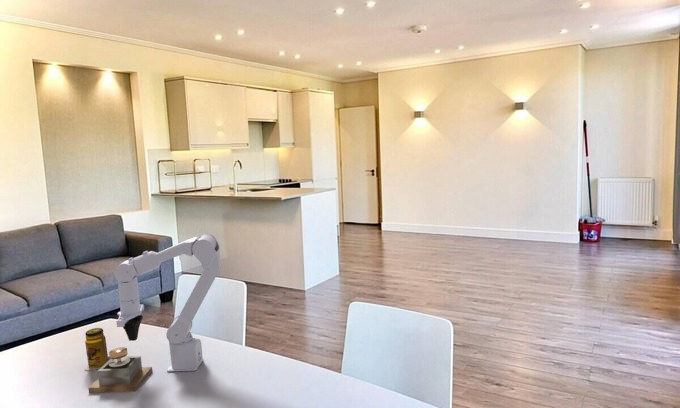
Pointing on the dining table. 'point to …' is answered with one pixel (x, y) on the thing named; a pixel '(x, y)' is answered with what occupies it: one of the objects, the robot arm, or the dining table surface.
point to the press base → (121, 377)
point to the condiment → (96, 348)
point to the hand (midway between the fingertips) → (133, 339)
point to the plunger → (118, 357)
